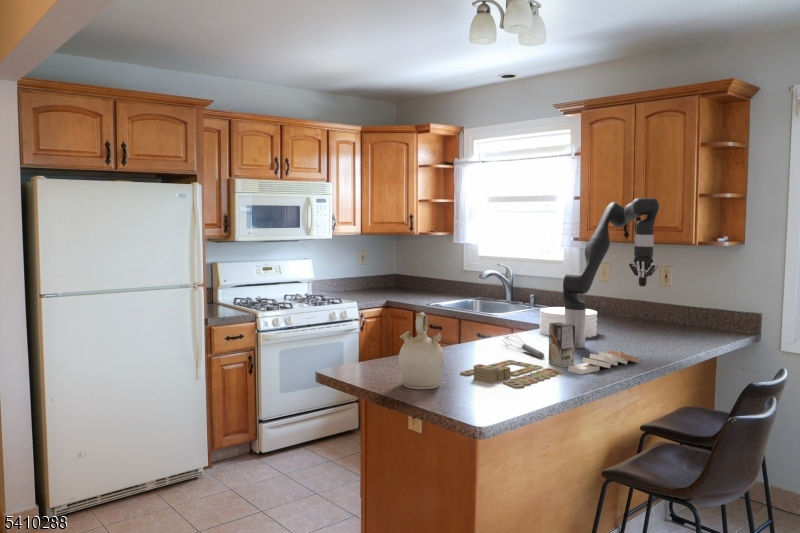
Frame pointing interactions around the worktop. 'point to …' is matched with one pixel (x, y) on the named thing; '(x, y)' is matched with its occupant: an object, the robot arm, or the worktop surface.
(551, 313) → the plate stack
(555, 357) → the coffee box
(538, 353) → the kitchen whisk
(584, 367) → the ivory tile
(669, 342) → the worktop surface
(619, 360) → the ivory tile
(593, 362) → the ivory tile
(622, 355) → the rust tile
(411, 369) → the jug
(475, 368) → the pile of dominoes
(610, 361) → the ivory tile
